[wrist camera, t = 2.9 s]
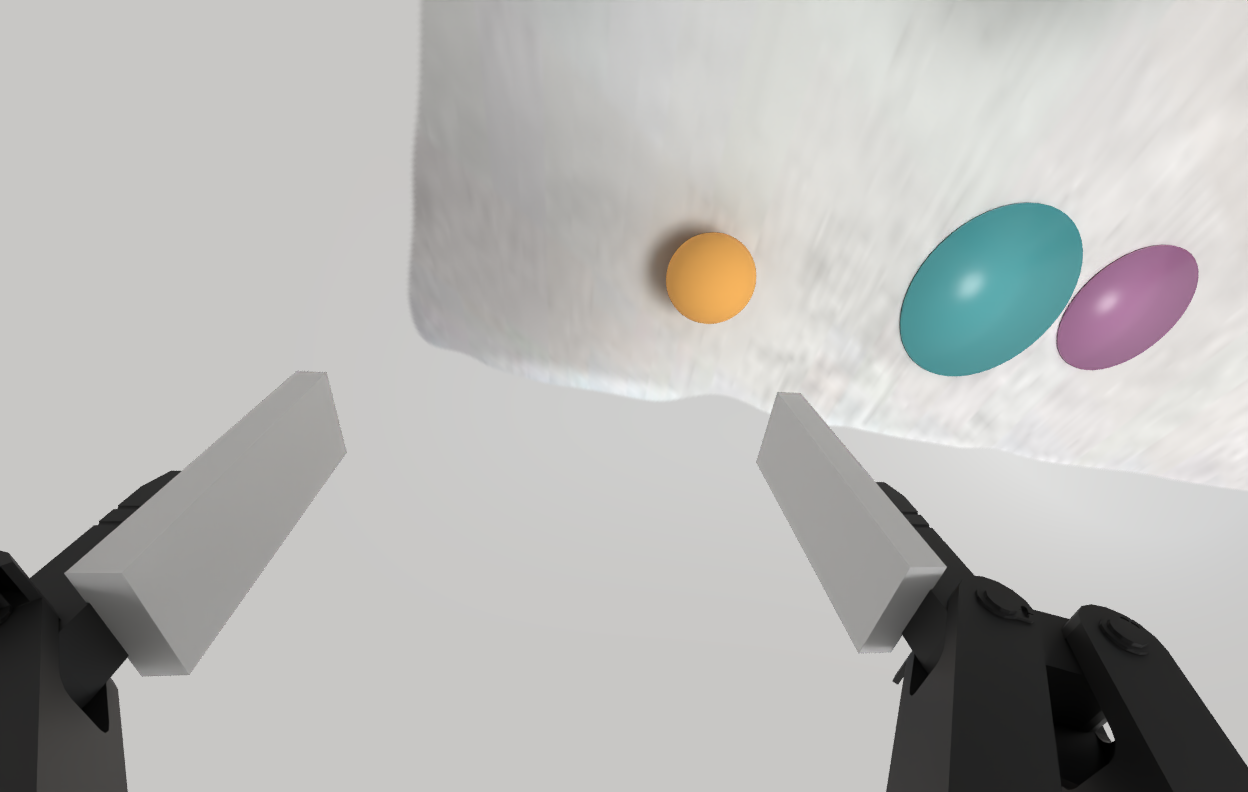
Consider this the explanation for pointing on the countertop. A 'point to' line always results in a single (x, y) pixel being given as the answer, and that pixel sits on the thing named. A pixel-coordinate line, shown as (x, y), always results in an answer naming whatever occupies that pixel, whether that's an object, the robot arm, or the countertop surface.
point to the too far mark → (1127, 307)
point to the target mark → (991, 289)
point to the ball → (711, 278)
